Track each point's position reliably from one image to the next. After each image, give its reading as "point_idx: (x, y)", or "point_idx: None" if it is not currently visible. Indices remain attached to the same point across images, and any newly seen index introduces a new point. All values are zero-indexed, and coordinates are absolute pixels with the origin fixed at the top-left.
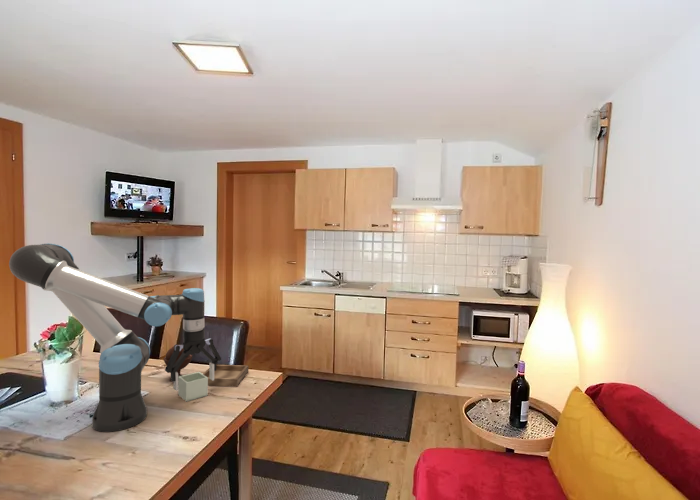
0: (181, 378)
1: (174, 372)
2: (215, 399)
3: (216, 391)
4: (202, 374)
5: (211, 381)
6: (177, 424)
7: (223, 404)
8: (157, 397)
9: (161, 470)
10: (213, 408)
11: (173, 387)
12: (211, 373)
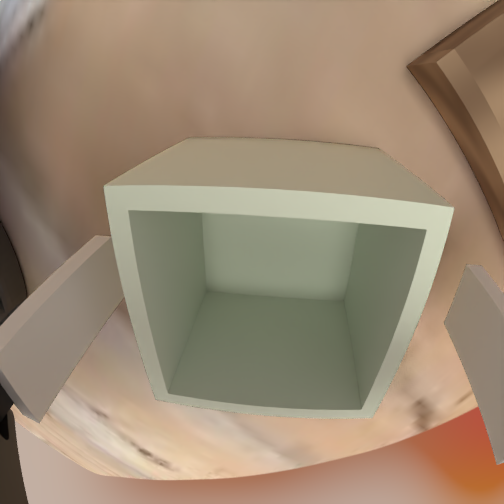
0: (127, 280)
1: (6, 418)
2: None
3: None
4: (405, 331)
5: (491, 179)
6: (129, 411)
7: None
8: (65, 97)
9: (101, 465)
10: (282, 417)
11: (89, 241)
12: (474, 353)
